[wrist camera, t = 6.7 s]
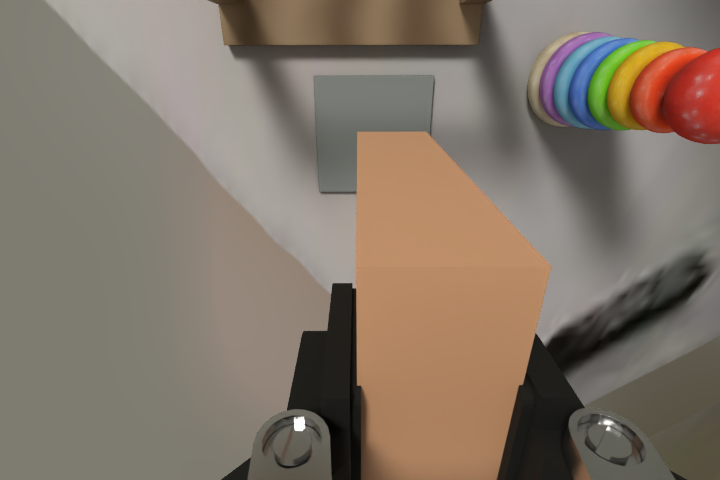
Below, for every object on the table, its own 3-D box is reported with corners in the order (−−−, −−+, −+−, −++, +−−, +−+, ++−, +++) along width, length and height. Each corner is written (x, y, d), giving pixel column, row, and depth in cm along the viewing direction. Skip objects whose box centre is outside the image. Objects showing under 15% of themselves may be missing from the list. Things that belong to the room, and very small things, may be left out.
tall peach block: (426, 131, 17) (551, 266, 6) (415, 288, 20) (481, 555, 9) (357, 131, 17) (356, 266, 6) (357, 288, 20) (357, 556, 9)
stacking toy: (539, 140, 38) (684, 204, 21) (512, 62, 35) (656, 64, 18) (620, 99, 37) (847, 133, 20) (599, 13, 34) (846, -33, 17)
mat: (433, 75, 36) (434, 75, 35) (424, 190, 40) (425, 191, 40) (313, 75, 36) (313, 75, 35) (319, 190, 40) (318, 191, 40)
